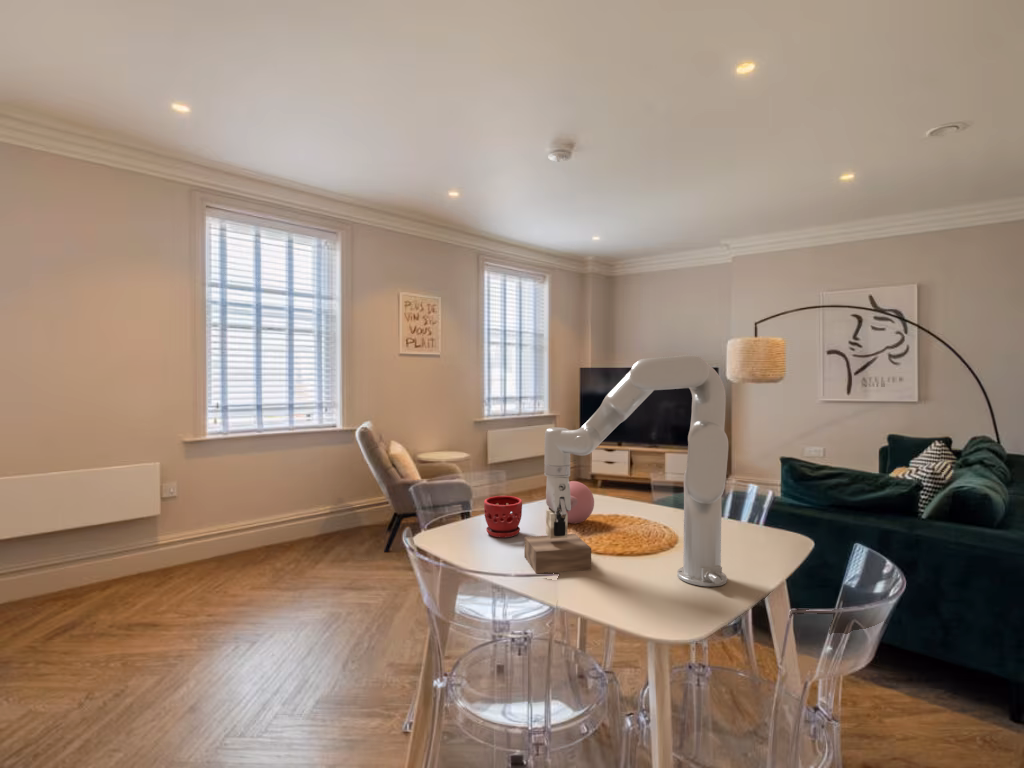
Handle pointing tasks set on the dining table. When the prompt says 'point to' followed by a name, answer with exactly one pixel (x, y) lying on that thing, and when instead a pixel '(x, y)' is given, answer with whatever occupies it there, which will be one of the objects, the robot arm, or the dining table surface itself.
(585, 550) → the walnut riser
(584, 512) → the balloon
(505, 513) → the plant pot
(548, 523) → the birch block
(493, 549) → the dining table surface
